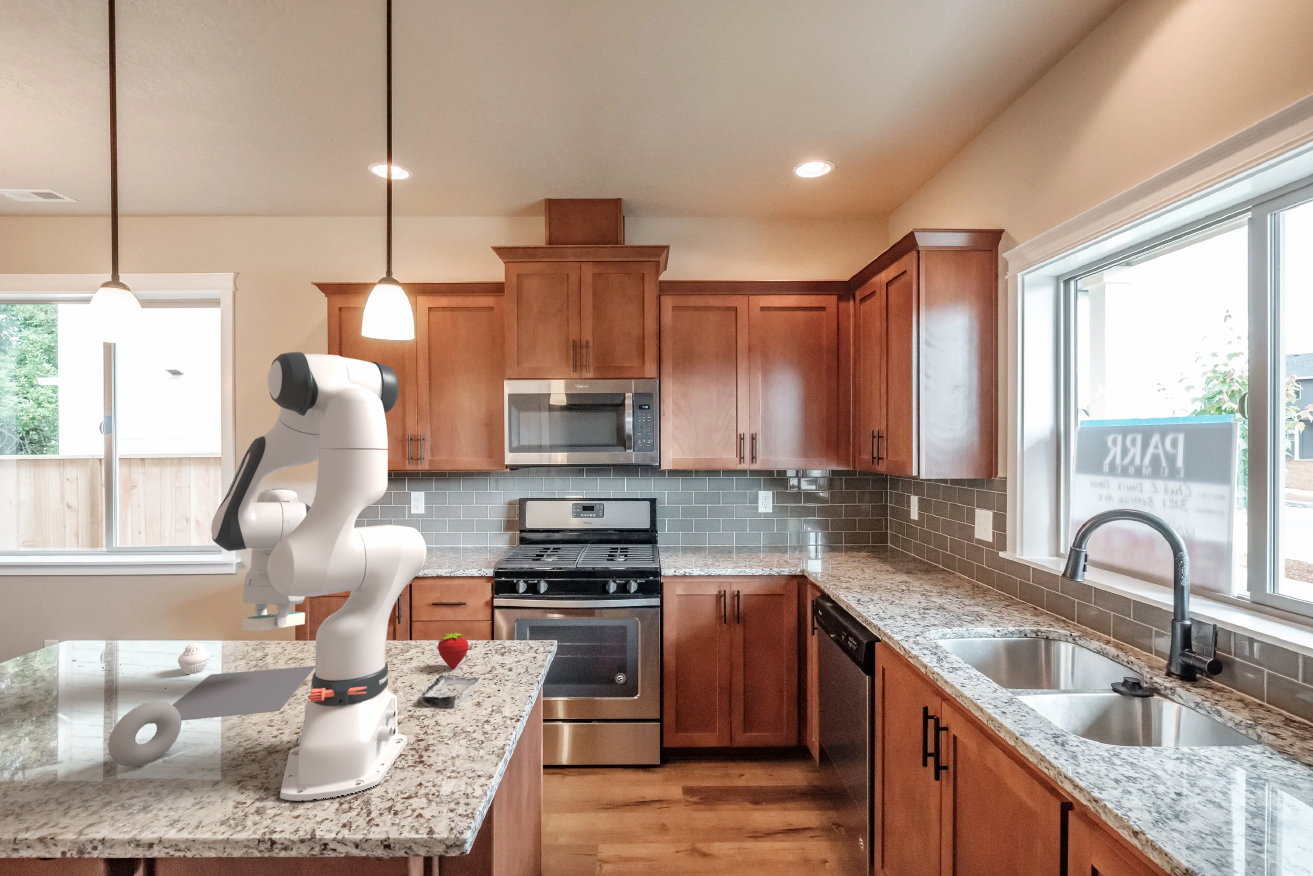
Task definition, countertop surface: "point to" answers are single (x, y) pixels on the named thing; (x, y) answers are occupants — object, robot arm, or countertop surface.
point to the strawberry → (453, 649)
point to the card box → (272, 621)
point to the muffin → (194, 658)
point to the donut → (126, 729)
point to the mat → (241, 693)
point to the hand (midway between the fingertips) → (271, 625)
